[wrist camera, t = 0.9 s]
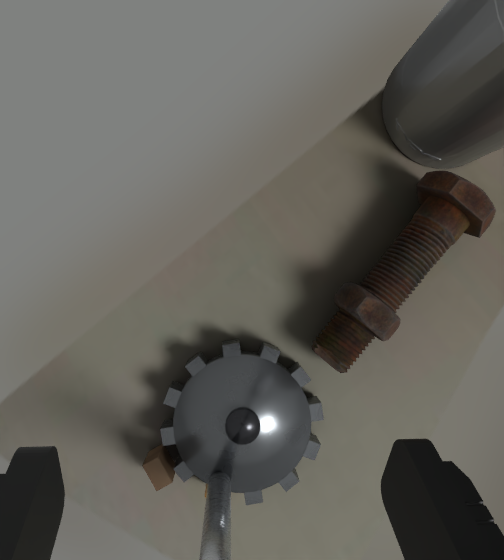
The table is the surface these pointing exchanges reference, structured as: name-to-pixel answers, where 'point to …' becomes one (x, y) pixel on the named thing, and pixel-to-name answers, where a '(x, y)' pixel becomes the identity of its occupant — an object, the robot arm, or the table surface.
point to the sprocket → (239, 431)
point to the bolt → (403, 266)
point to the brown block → (159, 467)
